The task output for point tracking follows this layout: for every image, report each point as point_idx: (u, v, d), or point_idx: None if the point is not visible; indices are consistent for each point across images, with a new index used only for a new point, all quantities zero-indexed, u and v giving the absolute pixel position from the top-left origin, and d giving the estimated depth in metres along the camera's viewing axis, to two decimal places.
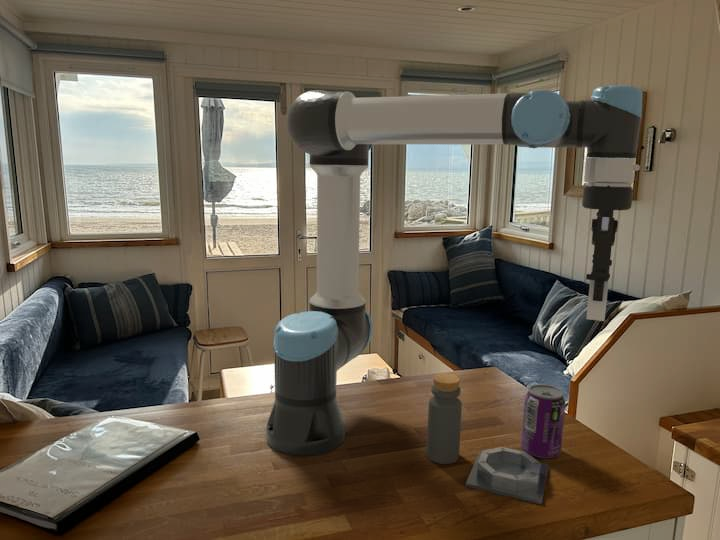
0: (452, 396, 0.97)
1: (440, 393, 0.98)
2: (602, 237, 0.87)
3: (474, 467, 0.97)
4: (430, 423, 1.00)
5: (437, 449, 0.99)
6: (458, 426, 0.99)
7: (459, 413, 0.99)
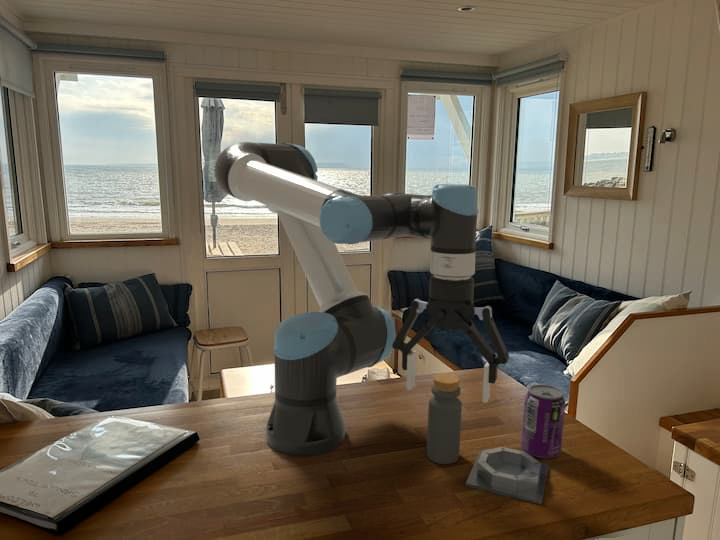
0: (452, 396, 0.97)
1: (440, 393, 0.98)
2: None
3: (474, 467, 0.97)
4: (429, 423, 1.00)
5: (437, 449, 0.99)
6: (458, 426, 0.99)
7: (459, 413, 0.99)
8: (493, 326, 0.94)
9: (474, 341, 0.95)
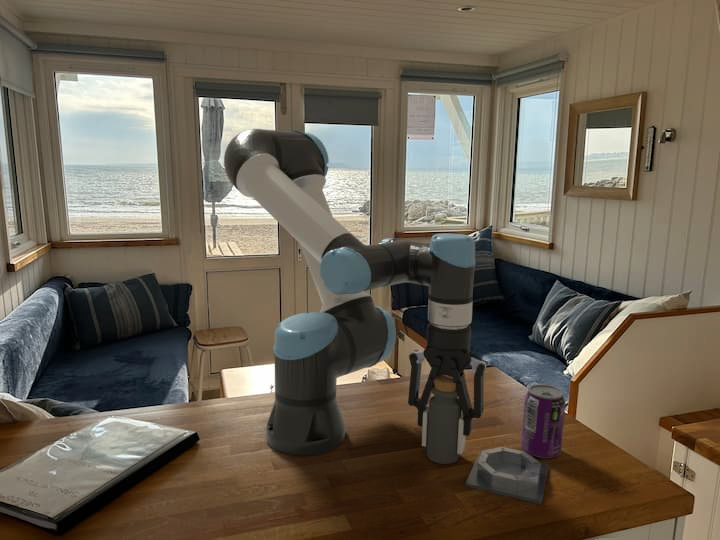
0: (452, 396, 0.97)
1: (440, 393, 0.98)
2: None
3: (474, 467, 0.97)
4: (430, 423, 1.00)
5: (437, 449, 0.99)
6: (458, 426, 0.99)
7: (459, 413, 0.99)
8: (481, 382, 0.96)
9: (459, 391, 0.98)
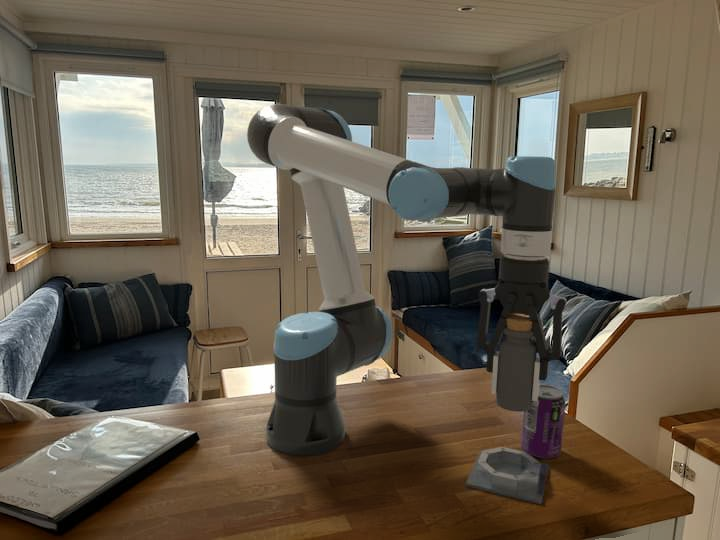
0: (528, 336, 0.88)
1: (515, 332, 0.89)
2: None
3: (474, 467, 0.97)
4: (501, 367, 0.91)
5: (510, 396, 0.90)
6: (533, 370, 0.90)
7: (535, 355, 0.90)
8: (561, 319, 0.88)
9: (535, 331, 0.89)
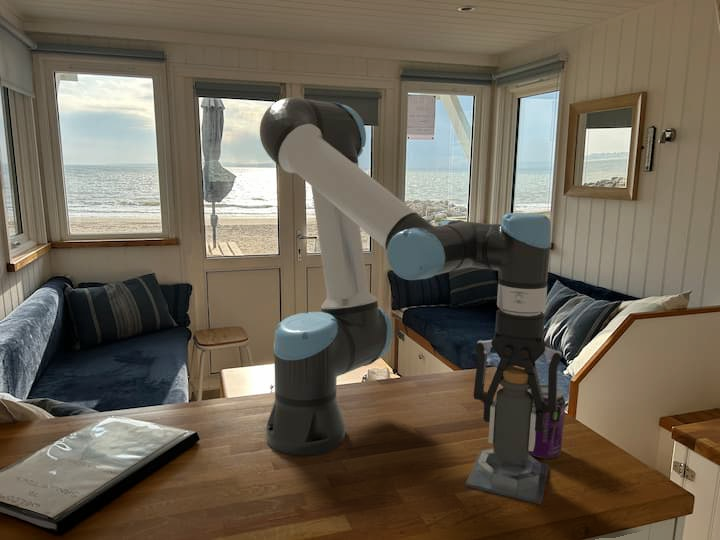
0: (524, 388, 0.90)
1: (511, 385, 0.90)
2: None
3: (474, 467, 0.97)
4: (498, 417, 0.92)
5: (506, 446, 0.92)
6: (529, 421, 0.92)
7: (531, 407, 0.91)
8: (556, 373, 0.89)
9: (531, 384, 0.90)
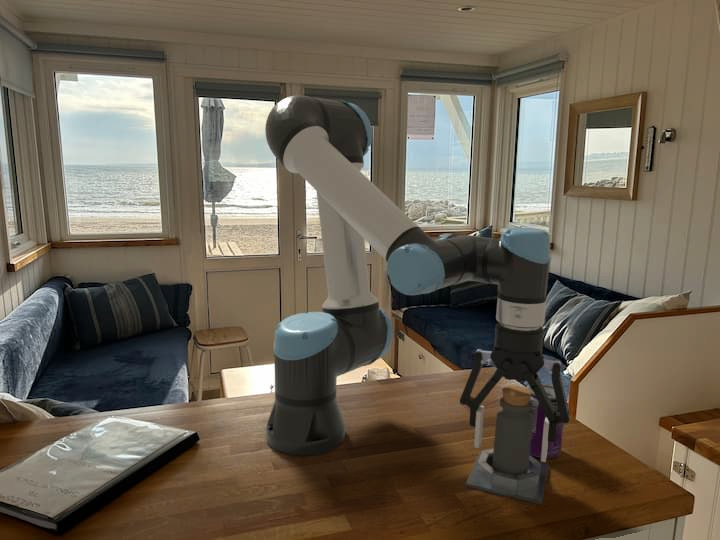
0: (524, 410, 0.91)
1: (511, 407, 0.91)
2: None
3: (474, 467, 0.97)
4: (498, 438, 0.93)
5: (505, 467, 0.93)
6: (529, 442, 0.92)
7: (530, 429, 0.92)
8: (561, 382, 0.89)
9: (538, 396, 0.90)
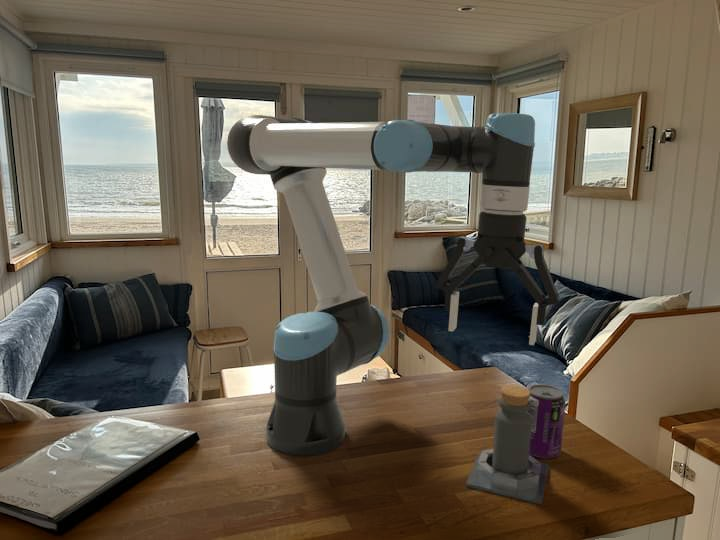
0: (523, 410, 0.91)
1: (510, 407, 0.91)
2: None
3: (474, 467, 0.97)
4: (497, 439, 0.93)
5: (505, 467, 0.93)
6: (528, 442, 0.92)
7: (529, 428, 0.92)
8: (545, 265, 0.90)
9: (524, 280, 0.91)
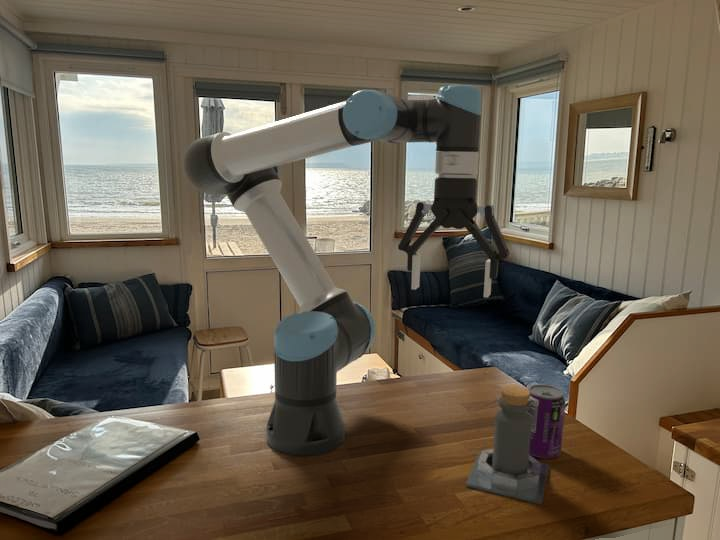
0: (523, 410, 0.91)
1: (510, 407, 0.91)
2: None
3: (474, 467, 0.97)
4: (497, 439, 0.93)
5: (505, 467, 0.93)
6: (528, 442, 0.92)
7: (529, 428, 0.92)
8: (495, 223, 0.99)
9: (476, 238, 1.00)
